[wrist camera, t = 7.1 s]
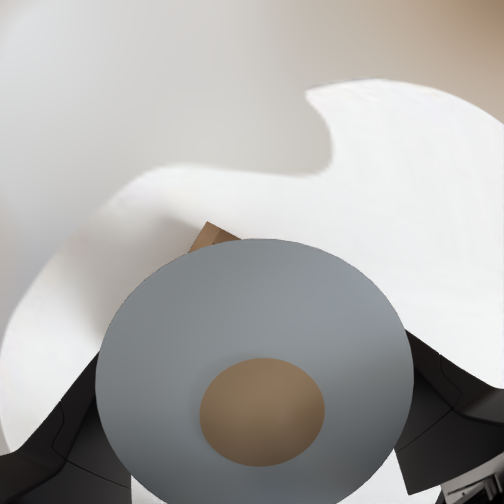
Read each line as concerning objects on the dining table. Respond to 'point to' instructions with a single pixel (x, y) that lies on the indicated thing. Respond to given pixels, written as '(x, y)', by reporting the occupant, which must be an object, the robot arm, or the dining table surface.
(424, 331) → the dining table surface
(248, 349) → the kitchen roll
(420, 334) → the dining table surface
